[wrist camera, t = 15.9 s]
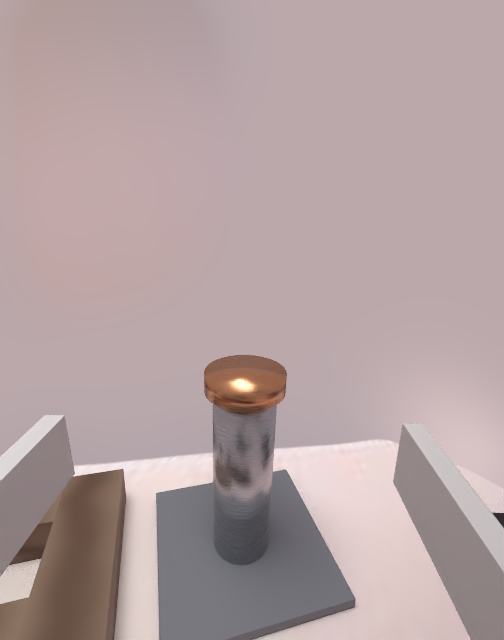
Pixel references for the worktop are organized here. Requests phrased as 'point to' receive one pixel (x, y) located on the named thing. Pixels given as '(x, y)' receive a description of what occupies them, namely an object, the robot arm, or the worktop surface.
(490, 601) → the robot arm
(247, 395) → the steel plug
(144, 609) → the worktop surface
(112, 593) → the bore block
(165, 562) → the rubber pad
